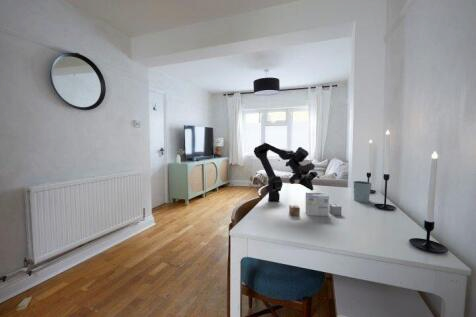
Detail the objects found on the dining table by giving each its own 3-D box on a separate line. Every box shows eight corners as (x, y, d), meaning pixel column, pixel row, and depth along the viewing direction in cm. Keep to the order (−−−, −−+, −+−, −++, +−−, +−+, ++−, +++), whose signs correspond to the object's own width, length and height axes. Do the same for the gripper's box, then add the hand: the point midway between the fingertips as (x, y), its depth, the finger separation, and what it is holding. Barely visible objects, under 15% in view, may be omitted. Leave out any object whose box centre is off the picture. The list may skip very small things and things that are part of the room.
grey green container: (349, 199, 142) (350, 181, 141) (359, 197, 146) (360, 180, 145) (363, 203, 133) (364, 184, 132) (374, 201, 137) (375, 182, 136)
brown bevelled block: (290, 216, 111) (290, 206, 110) (289, 213, 115) (289, 204, 115) (299, 216, 110) (299, 207, 110) (297, 213, 115) (297, 204, 114)
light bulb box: (325, 212, 117) (325, 192, 116) (329, 216, 110) (329, 195, 109) (304, 211, 118) (305, 192, 117) (307, 215, 111) (307, 195, 110)
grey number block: (332, 215, 112) (332, 205, 112) (329, 212, 117) (329, 203, 116) (341, 215, 112) (341, 206, 112) (337, 212, 117) (338, 203, 116)
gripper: (293, 158, 113) (311, 183, 105) (315, 157, 124) (332, 179, 116) (282, 172, 120) (298, 195, 112) (303, 169, 131) (319, 190, 123)
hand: (312, 189), depth 115 cm, fingers closed
